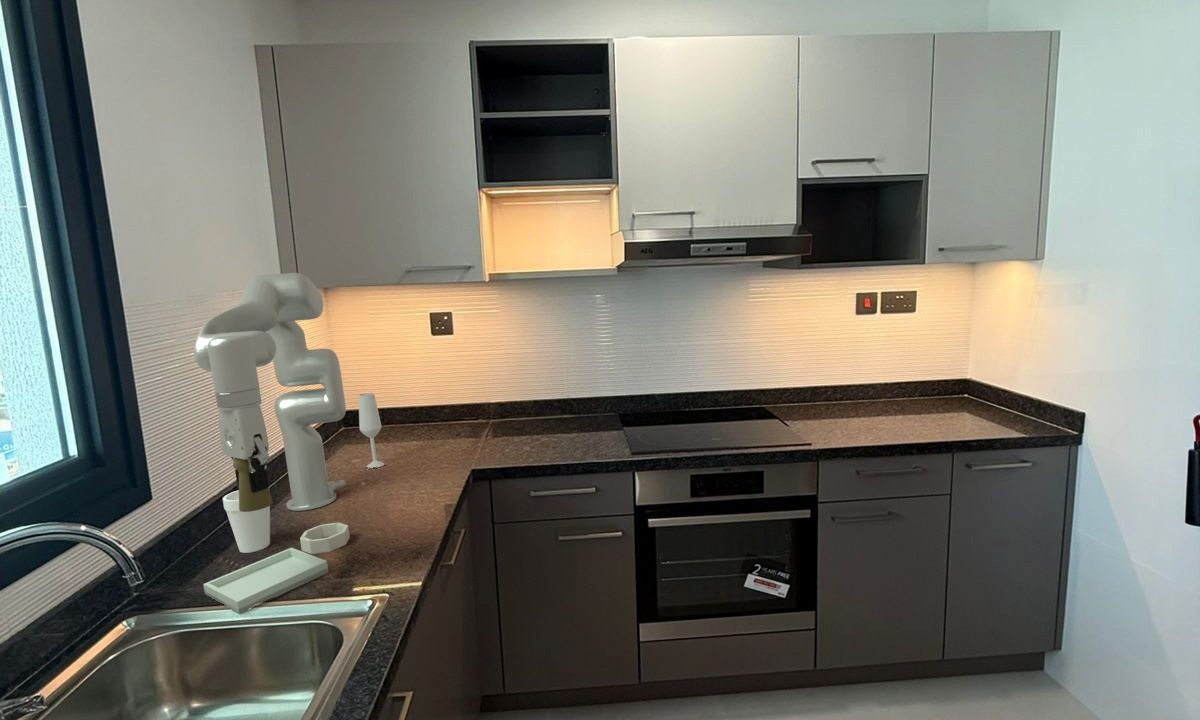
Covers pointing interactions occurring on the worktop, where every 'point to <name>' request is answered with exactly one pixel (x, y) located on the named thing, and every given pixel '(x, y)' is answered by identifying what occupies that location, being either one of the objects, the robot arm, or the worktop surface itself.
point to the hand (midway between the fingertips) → (253, 487)
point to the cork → (246, 497)
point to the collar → (317, 542)
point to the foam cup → (248, 524)
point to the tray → (265, 579)
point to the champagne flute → (369, 422)
